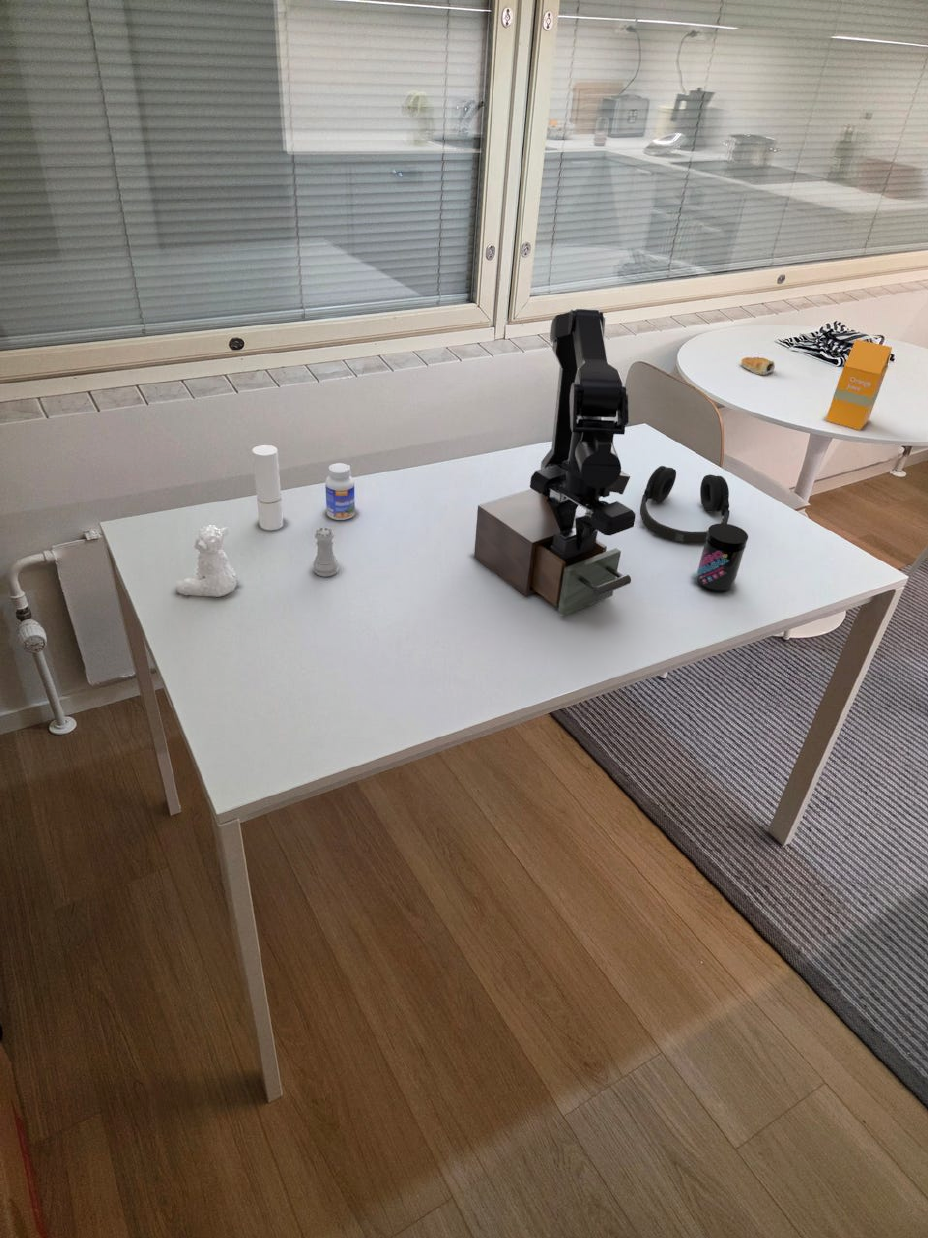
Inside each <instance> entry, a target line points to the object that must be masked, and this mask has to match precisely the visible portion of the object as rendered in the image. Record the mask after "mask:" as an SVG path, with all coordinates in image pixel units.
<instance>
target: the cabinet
mask: <svg viewBox="0 0 928 1238" xmlns="http://www.w3.org/2000/svg"><path fill="white" fill-rule="evenodd" d="M546 498H548V497H546V496H545V495H543V494H542V493H541V494H539V493H538V492H536V491H535V490H533V489H531V488H530V489H526V490H523V491H519V492H517V493H513V494H510V495H507V496H503V497H500V498H497V499H494V500H491V501H488V502H483V503H480V504H478V505H477V514H476V524H475V528H476V529H475V536H474V537H475V540H474V550H473V558H475V559H476V560H477V561H478V562H480V563H481V564H482V565H484V567H486V568H487V569H489V570H490V571H492V572H493V573H494V574H495V575H497V576H498V577H499V578H501V579H502V581H505V582H506V583H507V584H508V585H510V586H511V587H513V589H515V590H516V591H518V592H519V593H520V594H522V595H523V596H524V597H528V596H530V595H533V594H535V593H538V592H537V591H535V590H534V589H533V588H531V587H530V583H531V576H532V568H533V560H534V552H535V546H536V545H538V544H541V543H544V542H547V541H550V540H553V537H554V534H555V533H558V532H560V529H559V526H558V524H557V521H556V519H555V517H554V514H553V512H552V510H551V508H550V506H549V504H548V503H547V502H546ZM578 517H579V516H578V515H577V514H575V519H576V518H578ZM575 526H576V521H575V520H574V525H573V527H575Z"/></svg>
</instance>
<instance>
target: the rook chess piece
mask: <svg viewBox="0 0 928 1238" xmlns="http://www.w3.org/2000/svg"><path fill="white" fill-rule="evenodd" d="M334 537H335V533H334V532H333V530H332V528H331V527H328V526H324V528H323V526H320V527H318V528H317V529H316V532H315V534H314V538H315V539H316V540H317V541H316V542H315V543H316V546H317V552H316V553H317V554H316V557H315V559H314V561H313V562H312V563H313V564H312V566H313V567H312V570H313V571H312V572H314V573H315V575H317V576H319V577H323V578H329V577H333V576H335V575H336V574H337V573H338V571H339V570H340V567H339V561H338V559H337V558H336V556H335V554H334V550H333V545H334V541H333V539H334Z"/></svg>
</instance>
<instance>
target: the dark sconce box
mask: <svg viewBox="0 0 928 1238" xmlns="http://www.w3.org/2000/svg"><path fill="white" fill-rule="evenodd" d="M598 532H599V531H598V530H596V531H595V532H594V534H593V535H592V537H591V538H590V540H589V542H588V543H587V545H586V546H585V548H584V549H583V550H580V551H579V550H578V548H577V540H576V526H575V527H572V528H569V529H567V530H564V531H561V532H558V533H555V534H554V537H553V544H552V546H551V547H550V552H552V553H553V554H555V555H556V556H557V557H559V558H560V559H562V560H565V559H568V558H570V557H573V556H576V555H578V554H581V553H584V552H586V551H589V550H592V549H594V548H595V547H596V540H597V537H598Z"/></svg>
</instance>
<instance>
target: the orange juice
mask: <svg viewBox="0 0 928 1238" xmlns="http://www.w3.org/2000/svg"><path fill="white" fill-rule="evenodd" d="M892 350H893V347H892V346H887V345H883V344H880V343H876V342H875V343H874V342H870V341H867V340H862V339H858V338H855V341H854V343H853V344H852V347H851V349H850V350H849V351H850V352H849V354H848V356H847V358H846V360H845V363H844V365H843V368H842V370H841V373H840V376H839V380H838V383H837V385H836V388H835V391H834V394H833V396H832V400H831V403H830V407H829V409H828V412H827V415H826V419H825V422H829V423H833V424H836V425H840V426H844V427H847V428H851V429H855V430H858V431H862V429H863V428H864V427H865V426H866V424H867V423H868V421H869V419H870V417H871V414H872V411H873V409H874V406H875V403H876V400H877V397H878V396H879V393H880V389H881V386H882V384H883V382H884V380H885V379H884V378H885V376H886V373H887V370H888V367H889V363H890V358H891V353H892Z"/></svg>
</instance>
